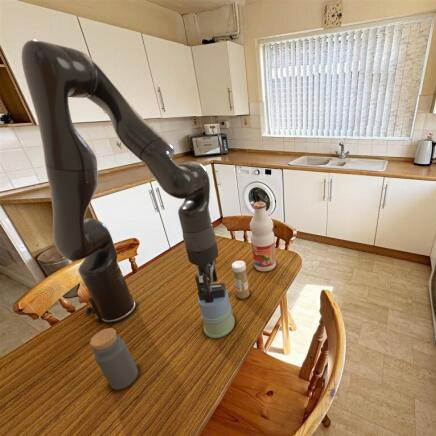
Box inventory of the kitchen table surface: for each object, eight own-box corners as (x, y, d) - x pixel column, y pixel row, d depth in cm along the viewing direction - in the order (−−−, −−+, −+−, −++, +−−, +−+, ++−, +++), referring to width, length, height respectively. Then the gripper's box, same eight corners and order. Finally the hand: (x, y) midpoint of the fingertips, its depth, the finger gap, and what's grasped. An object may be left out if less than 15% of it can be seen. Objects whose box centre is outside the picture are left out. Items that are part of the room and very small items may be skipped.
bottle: (133, 362, 64) (113, 321, 57) (142, 375, 60) (122, 334, 54) (107, 379, 60) (83, 338, 53) (115, 395, 56) (90, 353, 50)
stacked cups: (201, 340, 69) (192, 309, 64) (206, 315, 77) (199, 286, 72) (233, 335, 70) (227, 304, 65) (235, 311, 78) (230, 282, 73)
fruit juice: (281, 265, 100) (277, 203, 88) (263, 275, 95) (256, 210, 83) (267, 256, 107) (262, 197, 95) (249, 265, 101) (241, 204, 89)
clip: (199, 300, 67) (197, 291, 65) (201, 293, 69) (199, 284, 68) (225, 297, 68) (223, 288, 66) (225, 290, 70) (224, 281, 69)
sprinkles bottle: (251, 295, 85) (247, 264, 79) (239, 301, 82) (234, 269, 77) (246, 288, 88) (242, 258, 82) (234, 293, 86) (229, 262, 80)
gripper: (191, 230, 67) (202, 276, 74) (178, 259, 54) (192, 312, 61) (218, 228, 68) (227, 273, 75) (212, 255, 55) (222, 307, 62)
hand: (211, 290), depth 68 cm, fingers open, 8 cm apart
